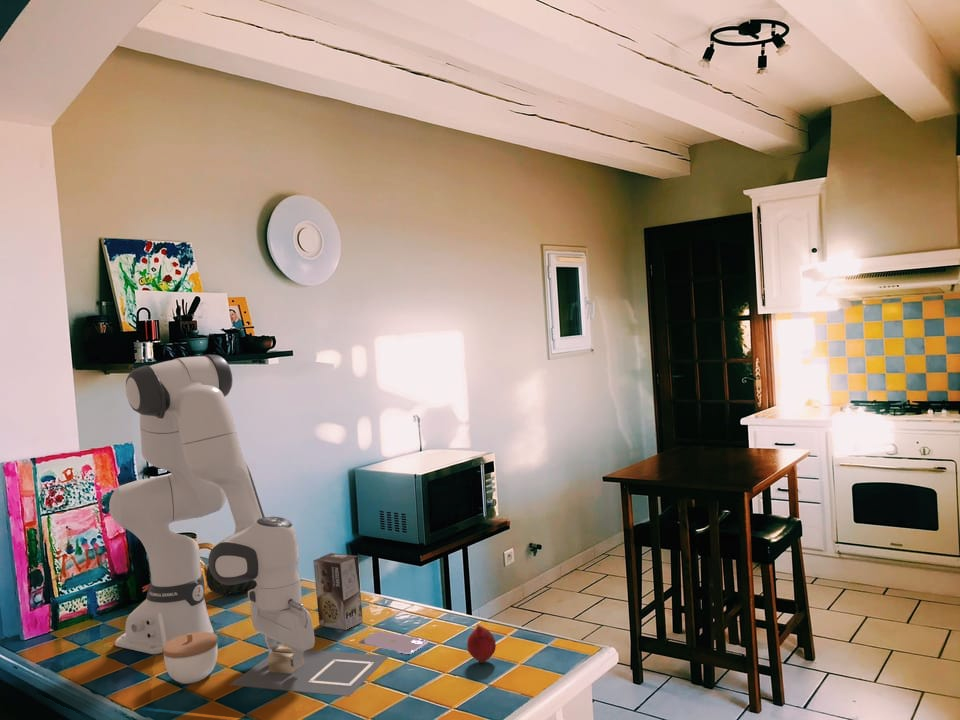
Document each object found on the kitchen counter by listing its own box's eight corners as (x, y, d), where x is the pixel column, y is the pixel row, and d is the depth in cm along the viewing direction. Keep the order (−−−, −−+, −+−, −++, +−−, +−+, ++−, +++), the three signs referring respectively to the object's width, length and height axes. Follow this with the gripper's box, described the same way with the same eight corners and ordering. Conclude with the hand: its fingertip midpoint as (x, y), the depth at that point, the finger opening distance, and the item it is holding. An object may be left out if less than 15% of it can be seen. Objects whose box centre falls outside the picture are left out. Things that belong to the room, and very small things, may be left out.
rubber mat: (229, 686, 151) (229, 684, 151) (280, 649, 168) (280, 647, 168) (349, 698, 142) (349, 695, 142) (389, 657, 160) (389, 655, 160)
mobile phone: (376, 629, 174) (430, 638, 166) (377, 633, 174) (430, 643, 166) (355, 642, 168) (409, 652, 160) (355, 646, 168) (410, 657, 160)
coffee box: (364, 621, 181) (359, 555, 181) (345, 631, 176) (340, 563, 176) (336, 616, 186) (331, 551, 186) (317, 625, 181) (312, 559, 180)
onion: (500, 657, 156) (497, 619, 156) (491, 669, 150) (488, 630, 150) (474, 655, 158) (471, 617, 157) (464, 667, 152) (461, 628, 152)
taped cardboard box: (269, 671, 156) (267, 654, 156) (281, 662, 160) (280, 645, 160) (292, 673, 154) (290, 655, 154) (303, 664, 158) (302, 646, 158)
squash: (192, 574, 212) (209, 538, 206) (239, 561, 224) (256, 527, 217) (213, 614, 206) (232, 579, 199) (261, 599, 217) (279, 565, 210)
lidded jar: (189, 694, 149) (185, 648, 149) (154, 685, 154) (150, 640, 154) (231, 671, 158) (227, 627, 158) (196, 663, 164) (193, 621, 163)
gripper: (319, 601, 151) (325, 668, 151) (270, 582, 166) (275, 644, 166) (291, 610, 147) (297, 680, 147) (243, 590, 162) (248, 653, 162)
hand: (285, 660), depth 157 cm, fingers open, 8 cm apart
